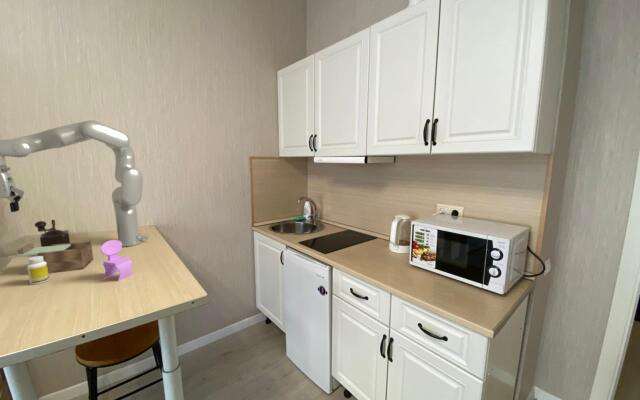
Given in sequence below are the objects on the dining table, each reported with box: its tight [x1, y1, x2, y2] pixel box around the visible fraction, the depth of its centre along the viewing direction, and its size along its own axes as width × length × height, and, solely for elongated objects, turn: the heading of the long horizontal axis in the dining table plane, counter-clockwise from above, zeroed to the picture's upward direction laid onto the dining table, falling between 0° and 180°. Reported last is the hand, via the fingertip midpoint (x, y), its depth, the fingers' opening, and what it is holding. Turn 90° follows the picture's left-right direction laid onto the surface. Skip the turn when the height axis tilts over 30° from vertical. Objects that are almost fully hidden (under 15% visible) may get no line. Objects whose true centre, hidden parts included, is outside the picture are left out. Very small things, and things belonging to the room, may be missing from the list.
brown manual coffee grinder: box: [34, 219, 71, 247], centre depth 136 cm, size 16×11×18 cm
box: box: [36, 240, 94, 275], centre depth 121 cm, size 14×12×9 cm
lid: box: [16, 243, 71, 258], centre depth 117 cm, size 14×9×3 cm, turn 113°
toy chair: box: [100, 239, 134, 282], centre depth 111 cm, size 8×9×15 cm
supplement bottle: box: [26, 255, 50, 285], centre depth 107 cm, size 5×5×10 cm
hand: (0, 211), depth 113 cm, fingers open, 9 cm apart
